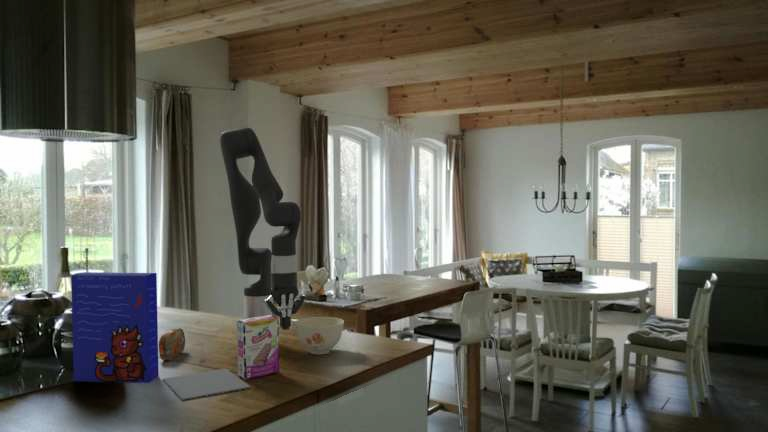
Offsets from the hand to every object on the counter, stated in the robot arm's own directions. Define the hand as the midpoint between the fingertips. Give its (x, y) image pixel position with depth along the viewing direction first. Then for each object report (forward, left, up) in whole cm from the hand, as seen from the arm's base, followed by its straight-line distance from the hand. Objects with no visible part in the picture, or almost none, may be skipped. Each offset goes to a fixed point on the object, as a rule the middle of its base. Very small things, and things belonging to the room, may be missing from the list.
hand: (285, 329), depth 181 cm
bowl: (-18, -13, -13) cm, 26 cm away
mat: (+24, 0, -12) cm, 27 cm away
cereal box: (+43, -19, -13) cm, 49 cm away
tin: (+24, -34, -13) cm, 44 cm away
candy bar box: (+8, 0, -12) cm, 15 cm away
